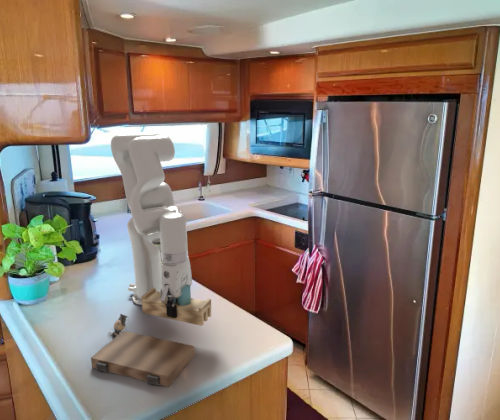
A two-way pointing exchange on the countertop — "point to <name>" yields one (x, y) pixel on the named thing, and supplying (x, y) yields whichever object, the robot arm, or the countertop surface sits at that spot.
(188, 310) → the light wood long block
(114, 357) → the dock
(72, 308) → the countertop surface
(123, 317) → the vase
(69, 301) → the countertop surface
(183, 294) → the teal cylinder
